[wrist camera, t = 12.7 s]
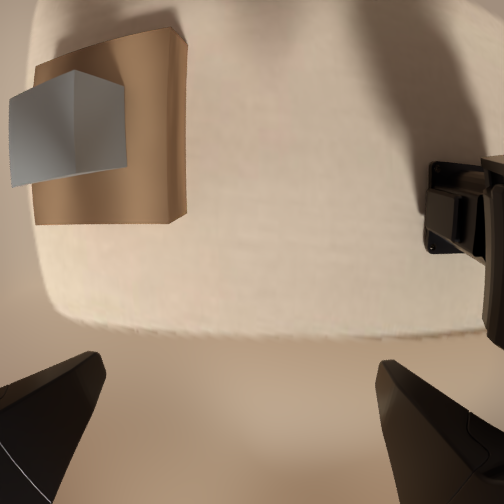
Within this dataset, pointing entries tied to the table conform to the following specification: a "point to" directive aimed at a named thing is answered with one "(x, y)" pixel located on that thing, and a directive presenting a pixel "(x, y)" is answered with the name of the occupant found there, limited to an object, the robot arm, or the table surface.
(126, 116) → the block
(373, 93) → the table surface
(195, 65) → the table surface
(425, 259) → the table surface
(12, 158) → the slate cube
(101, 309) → the table surface
